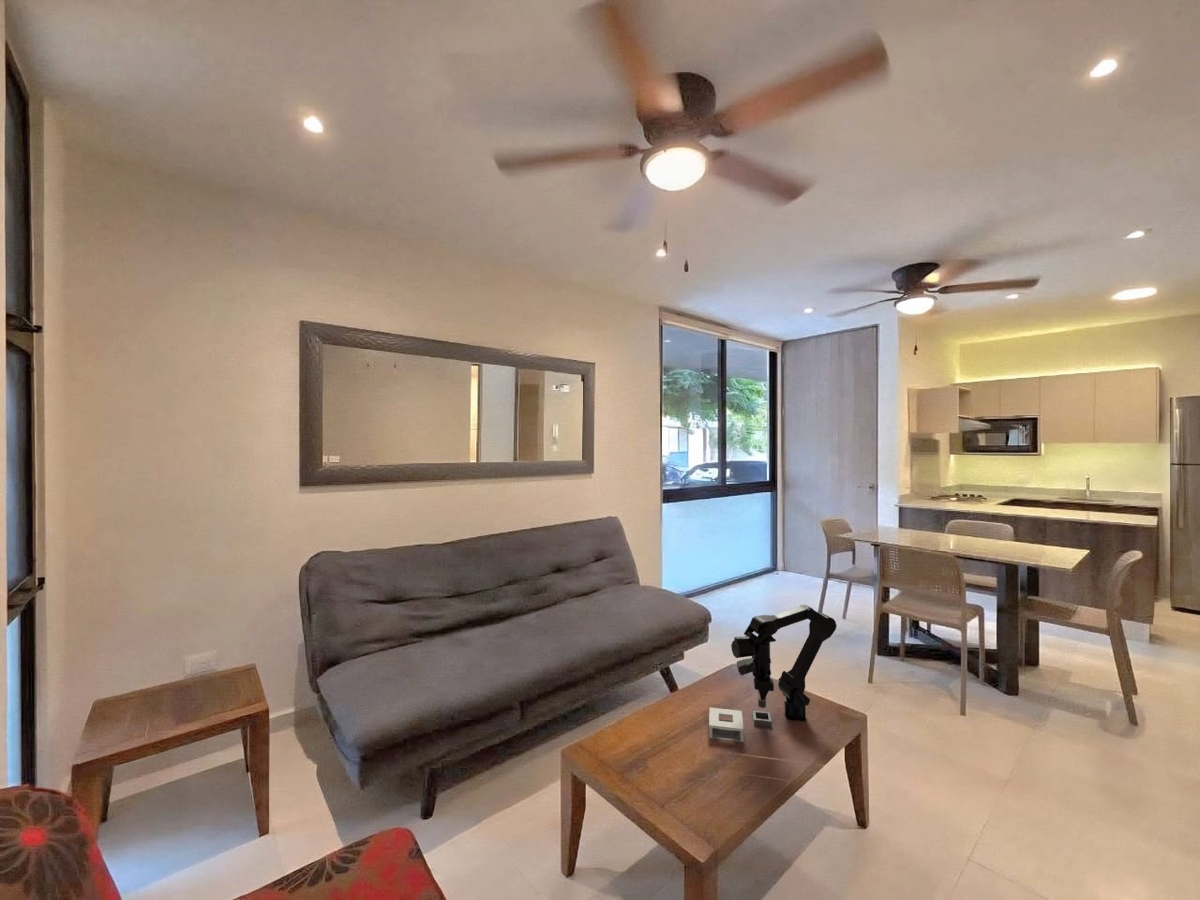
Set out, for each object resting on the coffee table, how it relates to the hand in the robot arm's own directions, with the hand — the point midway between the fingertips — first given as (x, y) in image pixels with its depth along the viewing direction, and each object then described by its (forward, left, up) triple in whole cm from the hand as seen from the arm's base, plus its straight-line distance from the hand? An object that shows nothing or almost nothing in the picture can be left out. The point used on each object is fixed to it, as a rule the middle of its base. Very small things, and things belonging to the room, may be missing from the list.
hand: (762, 697), depth 174 cm
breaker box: (+13, +9, -9) cm, 18 cm away
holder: (0, 0, -9) cm, 9 cm away
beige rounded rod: (0, 0, -3) cm, 3 cm away
